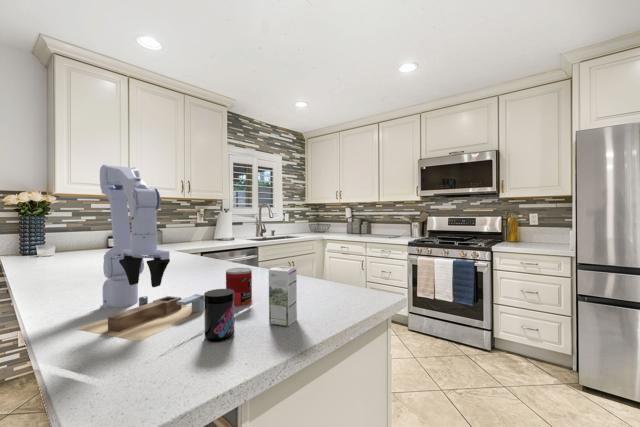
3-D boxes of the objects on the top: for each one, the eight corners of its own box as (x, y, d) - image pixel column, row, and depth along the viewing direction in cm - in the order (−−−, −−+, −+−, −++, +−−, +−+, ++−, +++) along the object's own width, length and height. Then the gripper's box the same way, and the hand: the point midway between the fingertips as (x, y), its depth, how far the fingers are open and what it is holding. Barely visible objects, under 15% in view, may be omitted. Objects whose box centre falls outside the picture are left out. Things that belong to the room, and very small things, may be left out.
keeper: (176, 318, 80) (176, 301, 80) (196, 309, 87) (196, 294, 87) (185, 319, 79) (184, 302, 79) (204, 310, 86) (204, 295, 86)
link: (167, 306, 90) (167, 296, 90) (181, 308, 88) (181, 297, 88) (105, 329, 73) (105, 316, 73) (120, 332, 71) (120, 319, 71)
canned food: (245, 309, 90) (245, 272, 90) (221, 307, 91) (220, 271, 91) (256, 301, 97) (255, 267, 97) (233, 300, 99) (233, 267, 99)
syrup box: (297, 319, 81) (297, 266, 81) (288, 327, 75) (287, 270, 75) (278, 317, 83) (278, 264, 83) (268, 325, 77) (267, 268, 77)
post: (137, 310, 87) (137, 298, 87) (144, 308, 89) (143, 296, 89) (142, 311, 86) (142, 298, 86) (149, 309, 88) (149, 296, 88)
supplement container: (207, 345, 66) (206, 298, 66) (202, 334, 72) (201, 291, 71) (238, 338, 69) (237, 293, 69) (230, 328, 75) (230, 287, 75)
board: (75, 332, 73) (75, 328, 73) (156, 304, 95) (156, 301, 95) (139, 344, 66) (139, 341, 66) (210, 311, 88) (210, 308, 88)
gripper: (109, 234, 78) (109, 286, 78) (153, 235, 73) (153, 291, 73) (133, 232, 84) (134, 280, 84) (175, 233, 80) (175, 284, 80)
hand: (144, 285), depth 79 cm, fingers open, 7 cm apart
